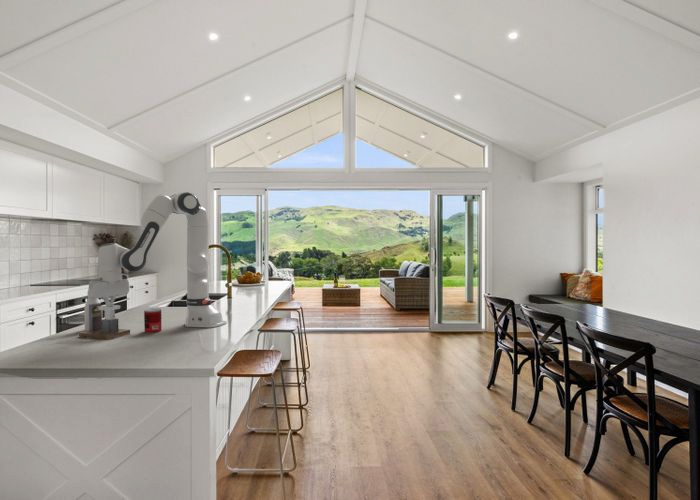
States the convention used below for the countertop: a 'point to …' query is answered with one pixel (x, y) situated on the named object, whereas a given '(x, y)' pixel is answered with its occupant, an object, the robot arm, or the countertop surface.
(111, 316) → the plunger
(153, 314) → the canned food
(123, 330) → the stand
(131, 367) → the countertop surface
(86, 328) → the milk bottle
